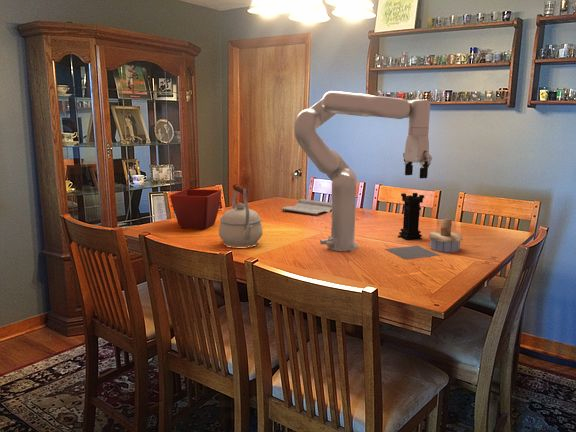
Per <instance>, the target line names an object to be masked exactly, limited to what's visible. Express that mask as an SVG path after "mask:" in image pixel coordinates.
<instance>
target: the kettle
mask: <svg viewBox="0 0 576 432" xmlns="http://www.w3.org/2000/svg"><path fill="white" fill-rule="evenodd" d="M232 189H233V197H232V203H231V205H232V206H231V207H232V208H231V209H229V210H226V211H225V212H224V213H222V215H221V217H220V218H219V222H220V223H219V228H218V236H219V238H220V239H221V240H222V241H223V245H224V246H225V245H226V246H225V247H227V246H231V247H248V246H253V245H256V244H257V243H258V241H259V240H260V239H261V238H262V237H263V236H262V235H263V232H264V231H263V226H262V223H261V222H262V220H263V219H262V218H261V217H260V216H259V213H258V212H257V211H255V210H253V209H251V208H249V207H250V206H249V204H248V198H247V194H248V193H249V191H248V189H247V188H246V187H243V186H241V185H239V184H238V183H234V184H233V185H232ZM238 193H240V194H241V195H242V196H243V197H242V198H243V199H242V200H243V203H242V202H237V204H236V200H237V197H238ZM257 245H258V244H257ZM257 245H256V246H257Z"/></svg>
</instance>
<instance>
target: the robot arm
mask: <svg viewBox="0 0 576 432" xmlns="http://www.w3.org/2000/svg"><path fill="white" fill-rule="evenodd" d="M430 111H431V101H430V100H429V99H420V98H419V99H413V100H409V99H405V98H400V97H388V96H378V95H372V94H368V93H360V92H358V93H357V92H348V91H339V90H338V91H337V90H329V91H327V92H325V93H324V95H323V96H322V98H321V99H320V100H319V101H317V102H316V103H315V104H313V105H312V106H310V107H309V108H305V109H303V110H301V111H300V112H299V113H298V115H297V116H296V119H295V121H294V125H293V133H294V138H295V140H296V142H297V143H298V146H299V147H300V148H301V149H302V150H303V152H304V153H305V154H306V156H307V157H308V158H309V160H310V161H311V162H312V163H313V164H314V165H315V167H316V168H317V170H318V171H319V172H320V173H322V174H325V175H326V176H327V177H328V178H329V180H331V182H332V183H331V203H332V209H331V224H330V225H331V233H330V236H328V238H327V239H320V241H319V244H320V245H326V248H327V249H329V250H331V251H335V252H352V251H355V250H357V249H358V248H359V245H358V244H357V243H356V242H355V232H356V229H355V228H356V226H355V225H356V203H357V201H356V198H357V197H356V196H357V194H356V193H357V182H358V179H357V175H356V173H355V172H354V171H353V170H352V168H351V167H350V166H349V165H348V164H347V162H346V161H345V160H344V158H343V157H342V156H341V155H340V154H339V153H338V152H337V151H336V150H334V149H332V148H331V149H330V147H329V146H328V145H327V144H326V142H324V140H323V139H322V137H320V136H319V134H318V133H317V129H318V128H319V127H320V126H322V125H323V124H324V123H326V122H328V120H330V119H331V118H332V117H334V116H336V114H337V115H338V114H339V115H345V116H346V115H348V116H354V117H355V116H358V117H376V118H387V119H395V120H396V119H397V120H402V119H408V133H407V136H406V141H405V146H404V147H405V148H404V152H403V154H402V155H403V162H404V167H405V168H404V175H405V176H413V171H414V170H413V168H414V165H413V163H416V164H417V163H419V165H420V168H419V177H418V178H419V179H427V178H428V173H429V172H428V171H429V170H428V169H429V168H430V165H431V163H432V159H433V157H432V155H430V141H429V139H430V138H429V130H430V129H429V127H430V113H431V112H430Z"/></svg>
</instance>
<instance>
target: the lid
mask: <svg viewBox="0 0 576 432" xmlns="http://www.w3.org/2000/svg"><path fill="white" fill-rule="evenodd" d="M440 222H441V224H440V231H438V230H437V231H431V232H429V233H428V238H429V239H430V240H431V239H433V240H436V241H442V242H458V241H460V242H461V241H462V240H463V235H462V234H460V233H458V232H453V231H452V224H453V220H452V218H445V217H444V218H441V221H440Z"/></svg>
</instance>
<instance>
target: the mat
mask: <svg viewBox="0 0 576 432" xmlns="http://www.w3.org/2000/svg"><path fill="white" fill-rule="evenodd" d="M281 210H282V212H285V211H289V212H295V213H300V214H307V215H313V216H315V217H316V216H318V214H321V213H330V212H332V202H327V201H320V200H319V201H318V200H313V199H303V198H300V199H299V200H298V202H297V203H296V204H295V205H294V206H293V205H292V206H290V205H287V206H283V207H281Z"/></svg>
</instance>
